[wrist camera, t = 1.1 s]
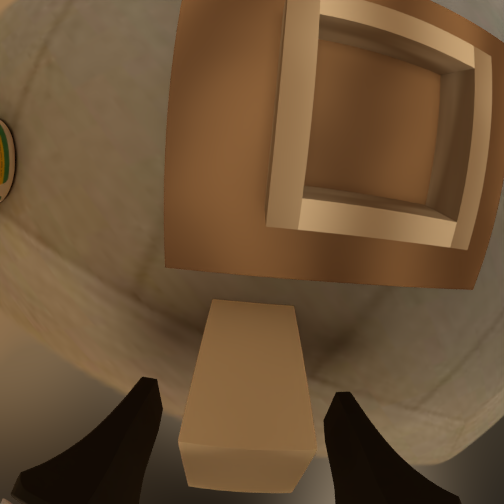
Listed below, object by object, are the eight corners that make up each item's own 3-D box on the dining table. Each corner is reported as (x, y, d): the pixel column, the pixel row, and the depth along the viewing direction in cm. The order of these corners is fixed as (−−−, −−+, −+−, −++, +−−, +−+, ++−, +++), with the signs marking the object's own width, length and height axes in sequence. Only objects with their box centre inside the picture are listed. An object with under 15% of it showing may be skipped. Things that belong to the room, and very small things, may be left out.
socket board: (496, 47, 8) (537, 41, 5) (463, 281, 14) (497, 313, 10) (195, -31, 8) (177, -71, 5) (171, 258, 13) (146, 296, 10)
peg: (294, 305, 14) (317, 449, 7) (282, 363, 16) (291, 492, 8) (212, 298, 14) (177, 441, 7) (211, 358, 16) (188, 486, 8)
